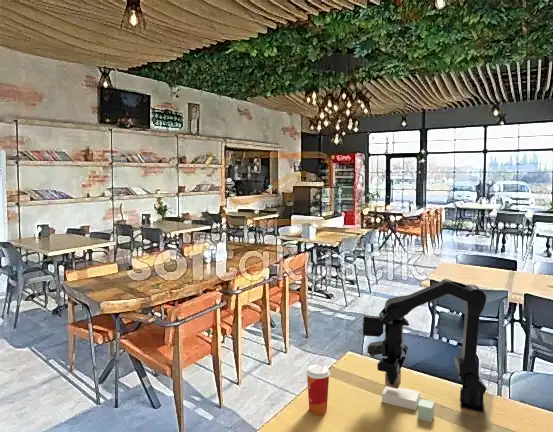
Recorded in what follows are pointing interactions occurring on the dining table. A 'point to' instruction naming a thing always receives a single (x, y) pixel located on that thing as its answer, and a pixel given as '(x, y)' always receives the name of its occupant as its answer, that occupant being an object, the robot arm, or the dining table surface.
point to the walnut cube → (396, 383)
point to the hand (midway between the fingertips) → (393, 381)
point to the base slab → (401, 397)
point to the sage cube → (425, 410)
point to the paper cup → (318, 388)
